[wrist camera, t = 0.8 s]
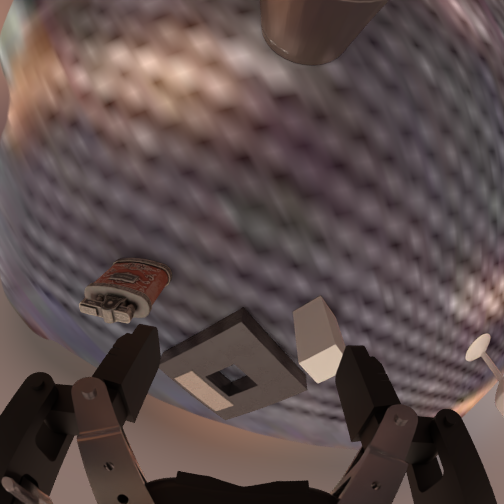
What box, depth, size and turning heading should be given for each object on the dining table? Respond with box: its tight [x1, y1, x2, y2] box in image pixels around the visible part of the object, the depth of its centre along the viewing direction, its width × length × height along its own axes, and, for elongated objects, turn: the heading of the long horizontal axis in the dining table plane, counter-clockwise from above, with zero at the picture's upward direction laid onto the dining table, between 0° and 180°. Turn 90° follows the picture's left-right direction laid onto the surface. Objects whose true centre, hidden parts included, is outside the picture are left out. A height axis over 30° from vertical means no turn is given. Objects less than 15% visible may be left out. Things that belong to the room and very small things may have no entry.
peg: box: [293, 296, 346, 383], centre depth 28 cm, size 4×4×9 cm
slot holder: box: [159, 307, 307, 420], centre depth 35 cm, size 15×15×3 cm
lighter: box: [79, 258, 172, 323], centre depth 27 cm, size 8×3×10 cm, turn 85°
